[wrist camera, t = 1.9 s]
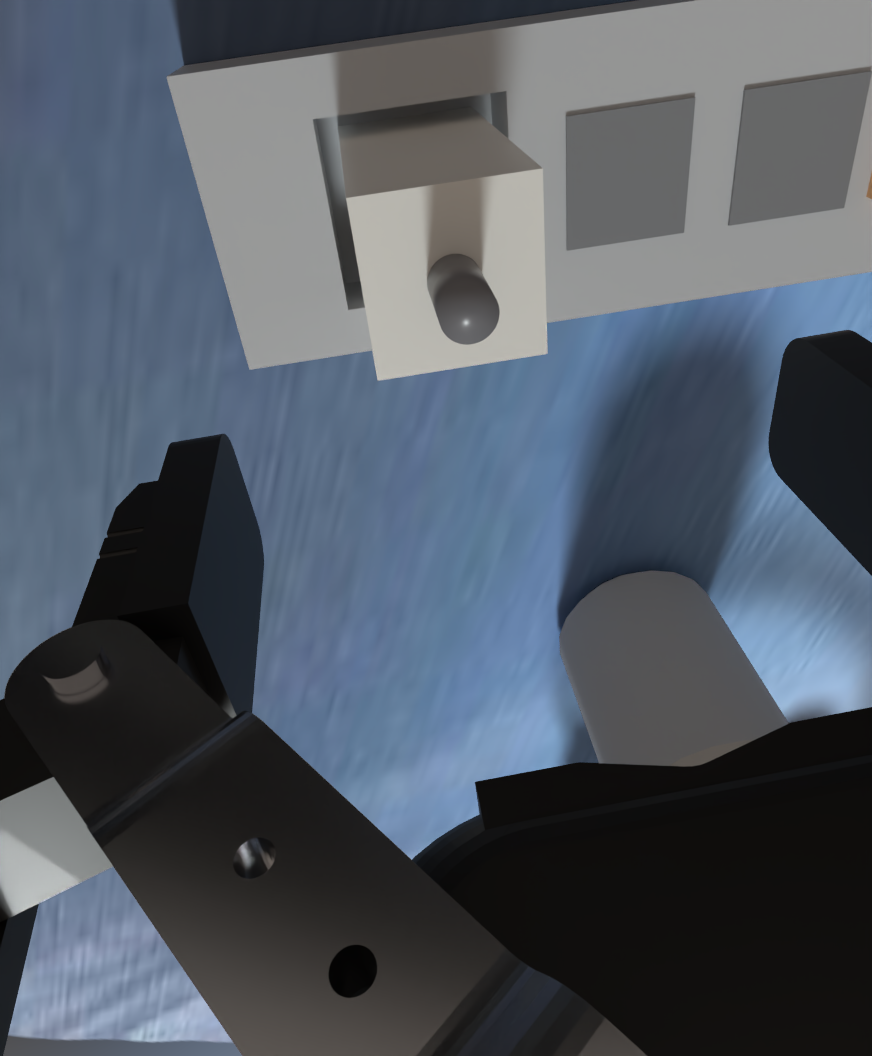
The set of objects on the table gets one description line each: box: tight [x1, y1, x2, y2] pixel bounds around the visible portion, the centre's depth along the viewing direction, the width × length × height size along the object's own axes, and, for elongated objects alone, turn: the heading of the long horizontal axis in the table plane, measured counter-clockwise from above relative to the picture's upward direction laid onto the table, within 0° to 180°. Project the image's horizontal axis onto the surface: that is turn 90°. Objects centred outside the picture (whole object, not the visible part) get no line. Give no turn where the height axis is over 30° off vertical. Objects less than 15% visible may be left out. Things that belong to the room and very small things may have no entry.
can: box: [559, 570, 789, 766], centre depth 32 cm, size 8×8×12 cm
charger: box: [338, 107, 547, 381], centre depth 19 cm, size 4×4×11 cm
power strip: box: [167, 0, 872, 370], centre depth 22 cm, size 22×8×4 cm, turn 96°
